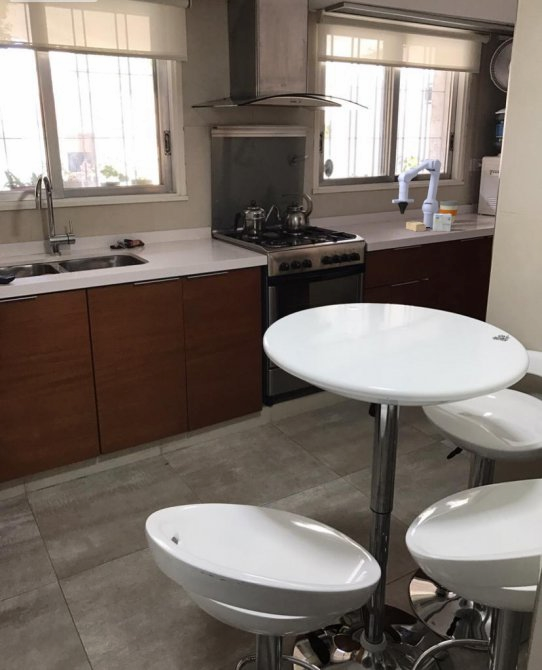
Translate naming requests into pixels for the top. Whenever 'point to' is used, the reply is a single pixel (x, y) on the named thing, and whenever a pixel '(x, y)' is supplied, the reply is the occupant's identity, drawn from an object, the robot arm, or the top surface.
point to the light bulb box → (441, 222)
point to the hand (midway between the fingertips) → (402, 214)
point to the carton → (416, 227)
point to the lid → (415, 223)
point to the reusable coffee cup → (449, 208)
